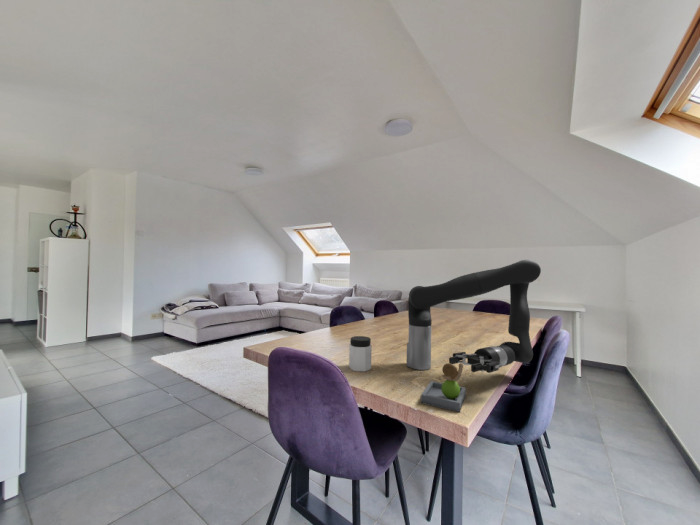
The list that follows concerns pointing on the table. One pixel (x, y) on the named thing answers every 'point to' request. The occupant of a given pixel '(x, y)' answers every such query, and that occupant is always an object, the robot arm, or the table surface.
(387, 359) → the table surface
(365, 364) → the jar
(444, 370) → the snail figurine
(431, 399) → the tray
